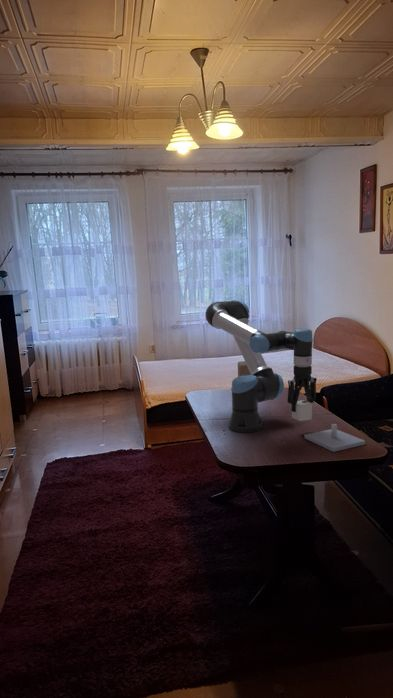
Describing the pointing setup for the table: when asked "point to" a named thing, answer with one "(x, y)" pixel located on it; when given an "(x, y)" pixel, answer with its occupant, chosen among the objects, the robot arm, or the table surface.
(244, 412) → the robot arm
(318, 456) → the table surface
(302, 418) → the white box
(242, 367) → the wooden block
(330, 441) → the plate
